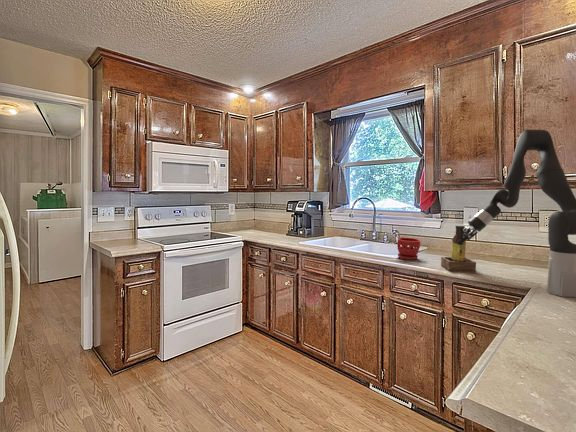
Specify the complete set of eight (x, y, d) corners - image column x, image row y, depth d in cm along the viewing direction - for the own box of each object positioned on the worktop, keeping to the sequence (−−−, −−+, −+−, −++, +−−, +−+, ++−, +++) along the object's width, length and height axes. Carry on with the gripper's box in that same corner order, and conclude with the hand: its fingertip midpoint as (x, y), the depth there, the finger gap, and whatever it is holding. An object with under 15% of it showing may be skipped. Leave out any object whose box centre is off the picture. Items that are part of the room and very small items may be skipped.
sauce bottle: (461, 264, 167) (462, 226, 166) (449, 262, 172) (450, 225, 171) (467, 263, 171) (468, 225, 170) (455, 260, 176) (456, 224, 175)
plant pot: (396, 259, 194) (397, 240, 193) (396, 255, 207) (397, 236, 206) (420, 261, 190) (421, 241, 189) (419, 256, 203) (419, 237, 202)
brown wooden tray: (475, 272, 165) (476, 262, 165) (448, 271, 167) (449, 261, 167) (466, 266, 177) (466, 257, 177) (441, 265, 179) (441, 256, 179)
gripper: (469, 214, 176) (445, 235, 178) (481, 216, 162) (455, 239, 164) (479, 224, 176) (455, 245, 178) (492, 227, 161) (466, 250, 164)
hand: (455, 242), depth 171 cm, fingers closed on sauce bottle, 6 cm apart
